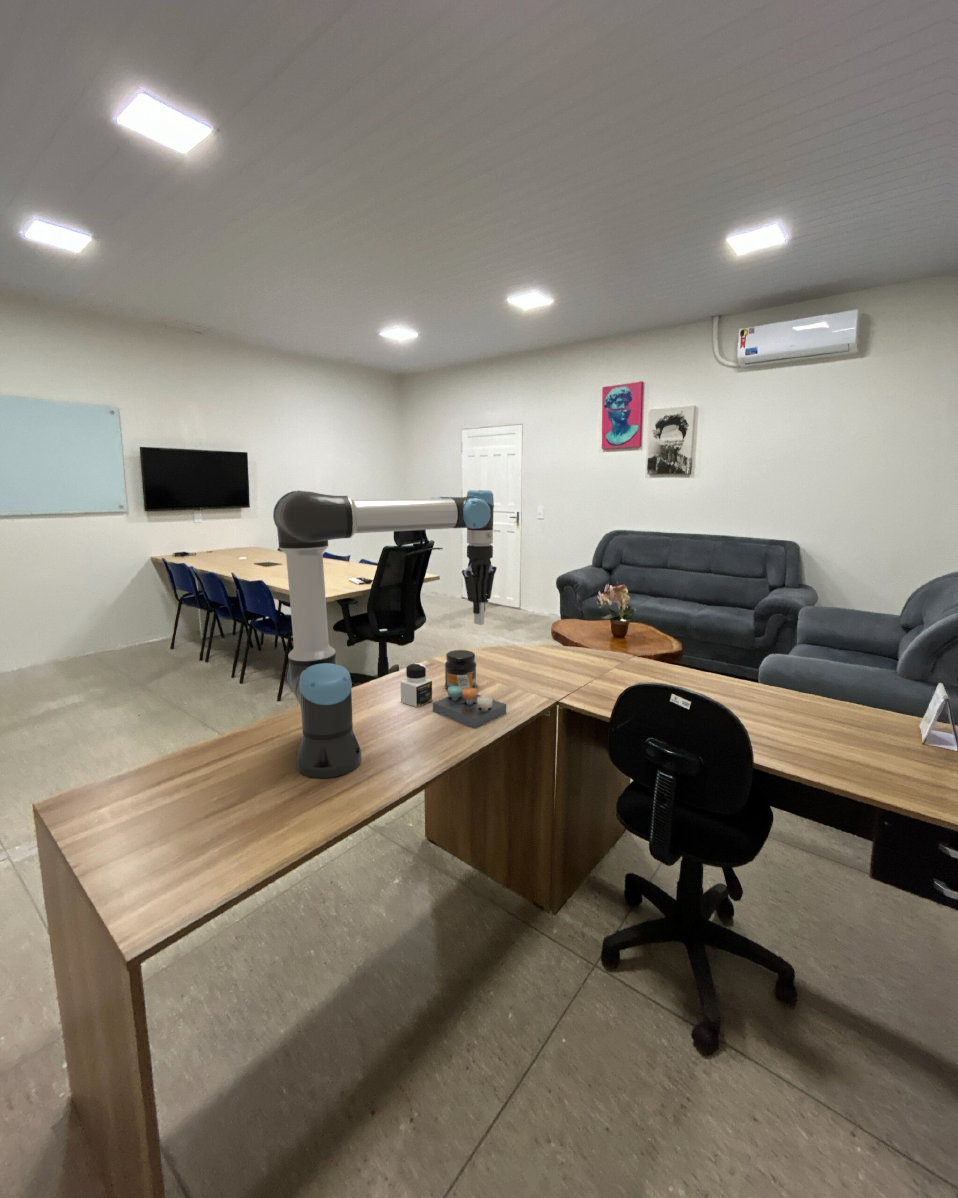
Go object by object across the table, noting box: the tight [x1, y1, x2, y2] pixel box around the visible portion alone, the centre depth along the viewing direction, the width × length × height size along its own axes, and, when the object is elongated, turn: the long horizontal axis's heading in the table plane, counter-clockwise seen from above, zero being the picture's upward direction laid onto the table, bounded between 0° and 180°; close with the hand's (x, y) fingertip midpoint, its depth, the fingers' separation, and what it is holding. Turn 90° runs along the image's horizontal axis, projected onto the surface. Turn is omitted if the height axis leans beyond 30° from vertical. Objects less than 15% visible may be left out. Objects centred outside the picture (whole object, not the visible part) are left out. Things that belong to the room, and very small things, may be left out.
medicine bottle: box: [400, 662, 433, 708], centre depth 167 cm, size 7×7×12 cm
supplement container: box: [444, 649, 477, 690], centre depth 179 cm, size 10×10×12 cm
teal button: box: [447, 686, 462, 701], centre depth 163 cm, size 4×4×5 cm
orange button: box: [462, 687, 478, 706], centre depth 159 cm, size 4×4×5 cm
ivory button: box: [477, 695, 493, 712], centre depth 155 cm, size 4×4×5 cm
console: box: [432, 693, 507, 729], centre depth 160 cm, size 14×17×3 cm
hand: (479, 623), depth 159 cm, fingers closed
